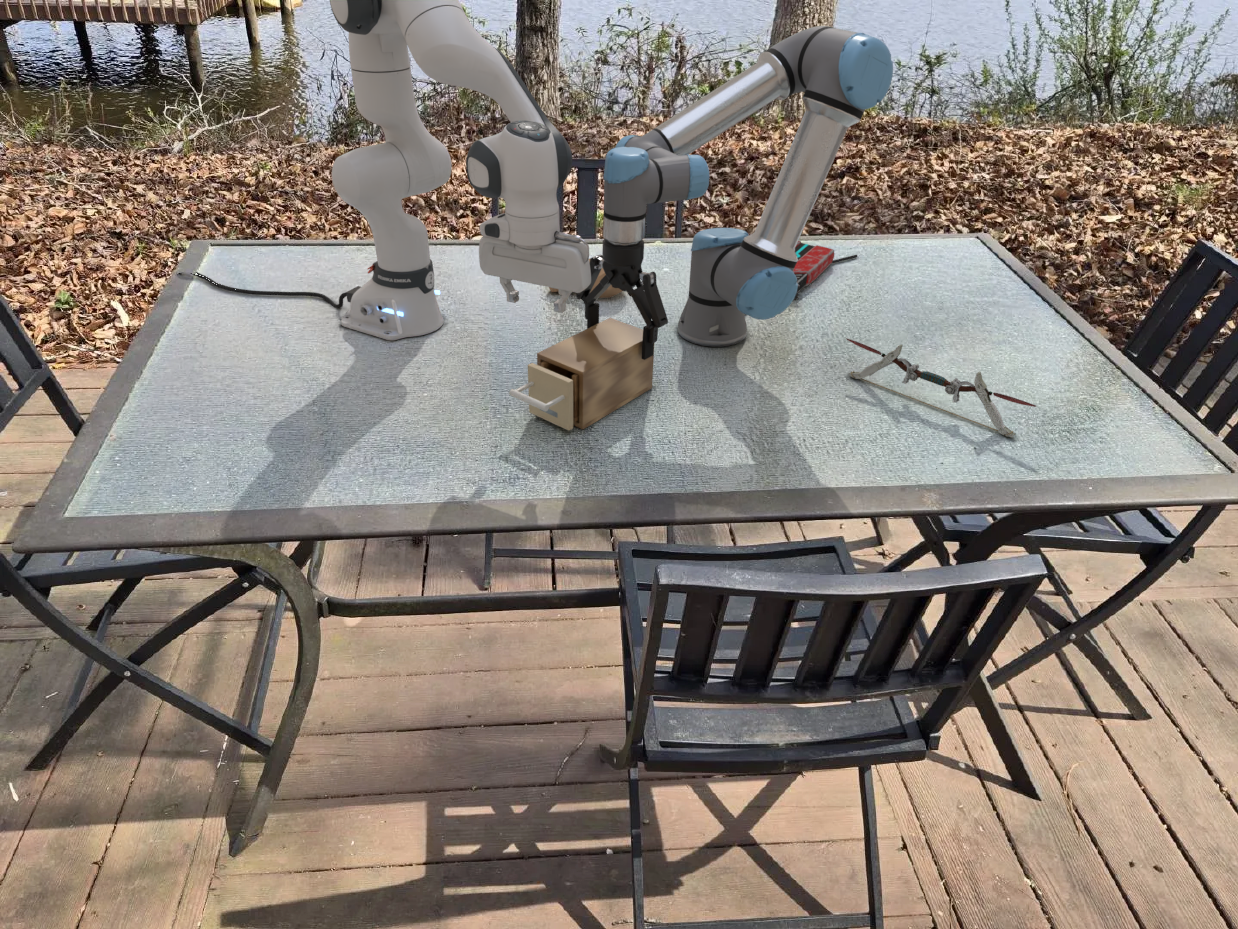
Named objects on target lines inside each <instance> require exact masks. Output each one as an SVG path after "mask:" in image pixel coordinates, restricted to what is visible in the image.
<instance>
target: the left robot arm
mask: <svg viewBox="0 0 1238 929" xmlns="http://www.w3.org/2000/svg"><path fill="white" fill-rule="evenodd" d="M329 4H330V8H331V11H332V14H333V17H334V19H335V21H336V22H337V24H338V25H339V26H340V27H341V29H343V30H344V31H345V32H347V33H348V53H349V63H350V71H351V78H352V86H353V93H354V100H355V101H354V102H355V106H356V108H357V111H358V112H359V113H360V115H361V116H362V117H363V118H364V119H365V120H366V121H368V122H371V123H372V124H375V125H377V126H379V127H381V130H382V132H383V134H384V137H385V142H383V143H378V144H373V145H368V146H367V145H366V146H361V147H356V148H354V149H352V150H349V151H348V152H345V153H343V154H341V155H340V156H337V157H336V158H335V160H334V162H333V164H332V168H331V181H332V182H331V183H332V185H333V188H334V190H335V193H336V194H337V195H338V197H339V198H340V199H341V200H342V201H343V202H345V203H346V204H347V205H349V206H351V207H353V208H355V209H356V210H357V211H358V212H360V214H361V215H362V216H363V217H364V219H365V220H366V222H367V224H368V225H369V228H370V230H371V233H372V237H373V243H374V248H375V253H376V254H375V255H376V261H374V262H373V263H372V265H371V266H369V267H368V268H367V274H370V273H372V277H371V278H370V279H369V280H367V282H365V283H364V284H363V285H362V286H359V285H358V286H355V287H353V288H351V289H349V290H347V291H344V292H343V293H341V294H339V297H338V304H336V303H335V302H334V301H333V300H331V298H330V297H329V296H327V295H325V294H323V293H320V292H313V291H279V290H278V291H275V290H274V291H273V290H252V289H243V288H237V287H234V286H233V287H232V286H229V285H226V284H222V285H221V283H219V282H217V281H215V280H213V279H212V278H211V277H209V276H207V275H205V274H202V273H200V272H197V271H196V273H197V274H198V275H195V274H192V273H190V274H191V275H192V276H195V277H197V278H199V279H201V280H204V281H206V282H207V283H209V284H211V285H212V286H214V287H215V288H218V289H221V290H224V291H228V292H231V293H238V294H244V295H255V296H279V297H281V296H282V297H315V298H319V299H322V300H324V301H325V302H326V303H328V304H329V305H331V306H332V307H333V308H334V309H342V308H343V306H344V299H345V298H346V301H347V303H350V305H349V310H347V311H346V313H344V314H343V316H342V317H341V320H340V324H341V326H342V327H344V328H347V329H350V330H354V331H357V332H360V333H364V334H367V335H370V336H373V337H377V338H380V339H383V340H387V341H396V340H397V341H398V340H401V339H404V338H412V337H420V336H423V335H427V334H430V333H431V334H432V333H434V332H436V331H437V330H439V329H441V327H442V326H443V325H444V323H445V320H444V317H443V314H442V312H441V310H440V307H439V303H438V300H437V296H436V295H438V296H439V295H441V290H439V289H435V271H434V264H433V260H432V259H431V253H430V243H429V232H428V229H427V226H426V225H425V223H424V222H423V221H422V220H421V219H420V218H419V217H417V216H415V215H412V214H409V213H407V212H405V210H404V207H403V202H402V201H403V199H405V198H409V197H413V196H418V195H423V194H427V193H430V192H432V191H434V190H436V189H438V188H440V187H442V186H444V185H445V184H447V183H448V182H449V180H450V178H451V175H452V171H453V165H452V164H453V163H452V158H451V155H450V153H449V151H448V149H447V147H446V146H445V145H444V143H442V142H441V141H440V140H439V139H438V138H436V137H434V136H433V135H432V134H431V133H430V132H429V131H428V129H427V128H426V126H425V125H424V123H423V121H422V119H421V117H420V114H419V112H418V108H417V105H416V99H415V93H414V92H415V91H414V86H413V78H412V68H411V60H410V54H411V56H412V58H413V60H414V61H415V63H416V65H417V66H418V67H419V68H420V70H421V71H422V72H423V73H424V74H425V75H426V76H427V77H429V78H431V79H432V80H434V81H436V82H438V83H441V84H444V85H448V86H453V87H459V88H463V89H467V90H471V91H475V92H478V93H481V94H483V95H485V96H487V97H489V98H491V99H492V100H493V101H495V102H496V104H497V105H499V107H500V108H501V110H502V112H503V113H504V114H505V116H506V117H507V119H508V120H509V123H507V124H506V125H505V126H504V127H503V129H502V131H499V133H497V134H496V133H495V134H493V135H490V136H486V137H483V138H480V139H478V140H475V141H474V142H473V143H472V144H471V145H470V147H469V149H468V152H467V155H466V158H465V169H466V177H467V180H468V183H469V184H470V186H471V187H472V189H474V190H475V191H476V192H477V194H479V195H481V196H483V197H484V198H489V199H498V198H499V199H503V200H504V202H505V206H504V212H503V213H499V214H497V215H494V216H492V217H490V218H488V219H486V220H485V221H483V222H482V223H480V224H479V233H480V235H481V236H482V237H481V238H480V240H479V243H478V261H479V268H480V270H481V271H482V272H483V274H484V275H486V276H491V277H496V278H499V284H500V286H501V288H502V289H503V291H504V292H505V293H506V302H508V303H512V304H516V303H517V302H519V300H520V296H519V295H520V291H519V290H517V289H515V287H514V285H513V283H512V281H515V282H521V283H527V284H531V285H536V286H541V287H547V288H549V287H551V288H556V289H559V292H558V295H560V296H561V297H560V298H558V299H557V300H555V301H554V302H553V312H555V313H558V314H559V313H561V314H563V313H565V312H566V310H567V301H568V299H569V297H570V296H571V294H572V293H576V294H577V293H580V292H582V291H583V290H585V289H586V288H587V287H588V286H589V285H590V284H591V270H590V263H589V259H590V246H589V243H588V242H587V241H586V240H584V239H583V238H582V236H581V235H578V234H569V233H566V232H561V229H560V205H559V202H558V198H557V191H558V189H559V188H561V187H562V186H563V185H564V184H565V182H566V181H567V179H568V177H569V175H570V172H571V170H572V166H573V152H572V150H571V147H570V145H569V143H568V141H567V140H566V138H565V137H564V135H563V134H562V133H561V131H559V129H558V128H557V127H555V125H554V124H553V123H552V122H551V121H550V120H549V118H548V117H547V115H546V113H544V111H543V109H542V108H541V106H540V105H539V103H538V102H537V100H536V99H535V98H534V96H533V94H532V93H531V91H530V89H529V88H528V87H527V85H526V84H525V82H524V80H523V79H522V78H521V75H520V74H519V73H518V71H517V70H516V69H515V67H514V66H513V64H512V63H511V61H510V60H509V59H508V58H507V56H506V55H505V54H504V53H503V52H502V51H501V50H499V49H498V48H496V47H495V46H493V45H491V44H490V43H489V42H488V41H487V40H486V39H485V38H484V37H483V36H482V35H481V34H480V33H479V32H478V31H477V29H475V27H474V25H472V23H471V21H470V20H469V18H468V16H467V15H466V12H465V10H464V8H463V6H462V5H461V3H460V1H459V0H329ZM409 52H410V54H409ZM176 275H178V274H177V272H176ZM199 275H201V276H199ZM202 276H204V277H202ZM206 276H207V277H206ZM208 277H209V278H208ZM206 278H207V279H206ZM208 279H209V280H210V281H209V280H208ZM212 282H214V283H215V284H214V283H212ZM216 282H217V283H216ZM218 283H219V284H218ZM216 284H217V285H216ZM235 289H236V290H235Z"/></svg>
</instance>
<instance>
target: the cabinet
mask: <svg viewBox="0 0 1238 929" xmlns="http://www.w3.org/2000/svg"><path fill="white" fill-rule="evenodd" d="M642 341H643V328H640V327H637V326H635V325H632V324H629V323H626V322H624V321H620V320H617V319H615V318H612V317H608V318H607V319H604V320H603V321H599V323H598V324H596V325H594V326H592V327H590V328H588V329H587V328H586V329H584V330H582V331H580V332H578V333H576V334H573V335H571V336H570V337H568V338H565V339H563V340H562V341H559V342H557V343H555V344H553V345H551V346H549V347H547V348H545V349H543V350H541V351H538V352H537V353H536V365H538V366H541V362H543V361H546V362H549V363H551V364H554V365H556V366H558V367H561V368H563V369H566V370H568V371H570V372H573V373H575V374H578V375H579V420H578V421H576V422H574V421H573V427H576V428H578V429H580V430H585V429H587V428H589V427H590V426H591V425H594V424H595V423H597V422H598V421H600V420H602V419H603V418H605V417H607V416H608V415H610V414H612V413H613V412H615V411H617V410H618V409H621V407H623V406H626V405H627V404H628V403H630V402H631V401H634V400H635V399H636V398H639V397H640V396H642V395H643V394H645V393H646V392H648V391H650V390H651V389H653V379H654V378H653V377H654V361H655V360H654V358H655V357H654V356H655V352H654V353H653V356H651V357H649V358H647V359H645V360H644V359H642Z"/></svg>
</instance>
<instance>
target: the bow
mask: <svg viewBox="0 0 1238 929" xmlns="http://www.w3.org/2000/svg"><path fill="white" fill-rule="evenodd" d="M845 340H846V341H847V342H850V343H852V344H853V345H855V346H857V347H859V348H860V349H861V348H862V349H864V350H866V351H869V352H871V353H874V354H876V355H880V357H881V358H882V359H881V360H878V361H876V362H873V363H872V364H870V365H868V366H866V367H865V368H864V369H862V370H861V371H855V370H853V371H850V372H848V374H847V375H848V376H849V377H851V378H853V379H855V380H861V381H864V382H867V383H869V384H872V385H874V386H877V387H880V388H882V389H886V390H887V391H890V392H893V393H896V394H898V395H901V396H904V397H906V398H909V399H912V400H914V401H916V402H919V403H922V404H924V405H927V406H929V407H933V408H936V409H937V410H941V411H943V412H946V413H948V414H951V415H954V416H956V417H959V418H962V419H964V420H967V421H969V422H971V423H974V424H977V425H980V426H982V427H985V428H988V429H991V430H992V431H995V432H998V433H999V434H1001V435H1003V436H1005V437H1007V438H1014V436H1015V435H1016V433H1015V432H1014V431H1013V430H1011V429H1010V428H1009V427H1007V426H1006V425H1005V424H1004V420H1003V418H1002V415H1001V413H1000V411H999V409H998V408H997V406H996V405H995V403H994V402H993V401H992V399H991V396H992V395H993V396H994V397H996V398H999V399H1002V400H1005V401H1008V402H1011V403H1015V404H1019V405H1022V406H1028V407H1033V408H1034V407H1035V408H1036V407H1037V404H1033V403H1030V402H1027V401H1026V400H1025V401H1024V400H1022V399H1020V398H1016V397H1013V396H1010V395H1006V394H1003V393H1000V392H999V393H998V392H993V391H991V390H990V391H989V389H988V386H987V384H986V382H985V381H984V379H983V375H982V371H977V372H976V373H975V377H974V382H973V383H972V382H970V381H968V380H964V381H961V380H960V379H958V378H957V377H954V379H953V380H951V381H949V380H947V378H946V377H944V376H942V375H939V374H937V373H933V372H930V371H927V370H926V371H925V370H922V371H921V370H919V368H920V365H919V364H918V363H917V364H912V363H911V362H910V361H909V360H908V359H906V358H902V357H899V356H900V355H901V354H902V349H903V344H898V345H897V347H896V348H895V349H894V350H891V351H889V352H888V353H887V354H886V353H884V352H881V351H880V350H877V349H876V348H873V347H871V346H869V345H867V344H864V343H861V342H859V341H856V340H853V339H850V338H846V337H845ZM898 357H899V358H898ZM892 364H893V365H894V364H896V366H897V367H898V368H900V369H901V370H902V371H903V372H905V375H904V377H903V380H902V381H901V383H902V384H904V385H907V384H908V383H909V382H910V381H912V382H916V381H917V380H918V379H922V380H923V381H926V382H929V383H932V384H935V385H937V386H940V387H945V388H944V391H945V393H946V394H947V395H951V396H952V395H953V396H952V403H955V404H957V403H958V402H960V392H961V393H968V392H969V393H970V392H971V393H972V392H974V393H975V394H976V395H977V397H978V399H979V400H980V402H981V404H982V405H983V407H984V409H985V412H986V414H987V416H988V417H989V419H990V422H991V423H992V425H993V426H994V428H993V427H990V426H988V425H985V424H982V423H981V422H977V421H975V420H972V419H969V418H967V417H964V416H962V415H959V414H956V413H954V412H951V411H948V410H945V409H943V408H940V407H939V406H935V405H933V404H930V403H927V402H924V401H922V400H920V399H916V398H914V397H911V396H909V395H906V394H904V393H902V392H898V391H896V390H893V389H890V388H888V387H885V386H882V385H880V384H877V383H875V382H872V381H870V380H867V379H865V378H867V377H871V376H872V375H874V374H875V373H877V372H878V371H880V370H882V369H884V368H886V367H888V366H890V365H892Z"/></svg>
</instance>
